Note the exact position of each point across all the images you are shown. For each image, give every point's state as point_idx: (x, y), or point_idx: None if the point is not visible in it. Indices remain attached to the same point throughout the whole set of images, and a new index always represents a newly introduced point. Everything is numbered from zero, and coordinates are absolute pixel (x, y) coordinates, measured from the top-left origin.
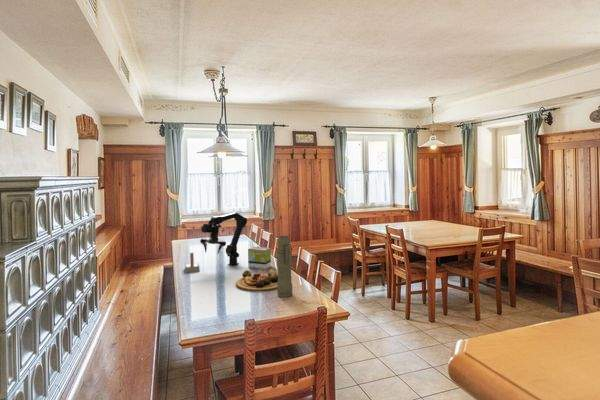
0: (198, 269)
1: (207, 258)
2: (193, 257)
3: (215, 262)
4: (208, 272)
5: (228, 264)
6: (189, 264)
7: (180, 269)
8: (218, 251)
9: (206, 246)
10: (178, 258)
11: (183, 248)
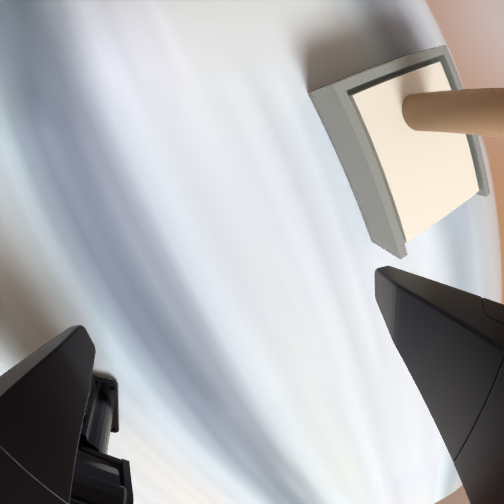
0: (325, 86)
1: (363, 464)
2: (482, 112)
3: (277, 425)
4: (178, 52)
5: (108, 382)
6: (459, 193)
7: None
8: (34, 356)
9: (457, 412)
10: None
11: (458, 486)
